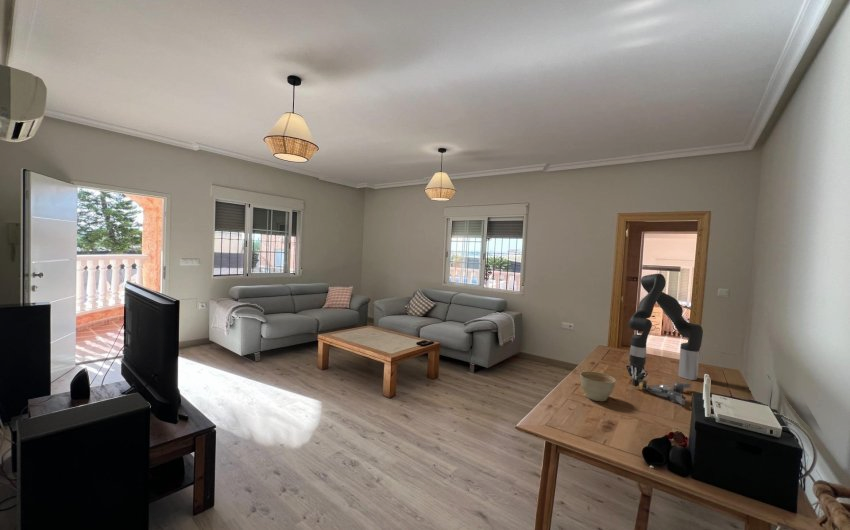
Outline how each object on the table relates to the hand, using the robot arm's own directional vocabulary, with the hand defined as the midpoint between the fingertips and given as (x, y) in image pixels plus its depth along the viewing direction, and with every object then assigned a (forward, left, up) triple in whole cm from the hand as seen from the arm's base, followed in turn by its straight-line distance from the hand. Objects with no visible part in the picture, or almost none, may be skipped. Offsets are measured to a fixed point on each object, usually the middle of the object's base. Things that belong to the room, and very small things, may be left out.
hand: (635, 385), depth 195 cm
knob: (+7, +19, -1) cm, 21 cm away
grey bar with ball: (-16, +19, -1) cm, 26 cm away
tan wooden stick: (-2, +3, -1) cm, 3 cm away
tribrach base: (-5, +11, -2) cm, 12 cm away
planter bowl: (+29, -12, -2) cm, 32 cm away
